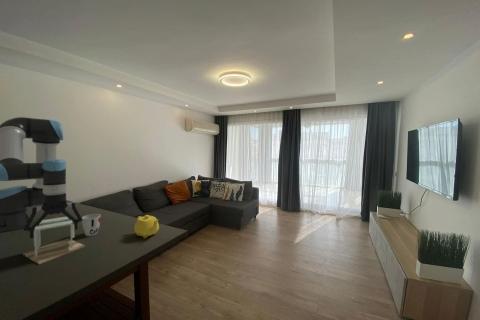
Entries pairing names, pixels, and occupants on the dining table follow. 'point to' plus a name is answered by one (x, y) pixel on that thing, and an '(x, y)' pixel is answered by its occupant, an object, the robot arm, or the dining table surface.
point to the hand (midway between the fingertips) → (55, 240)
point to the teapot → (146, 226)
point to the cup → (91, 224)
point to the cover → (50, 224)
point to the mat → (53, 251)
